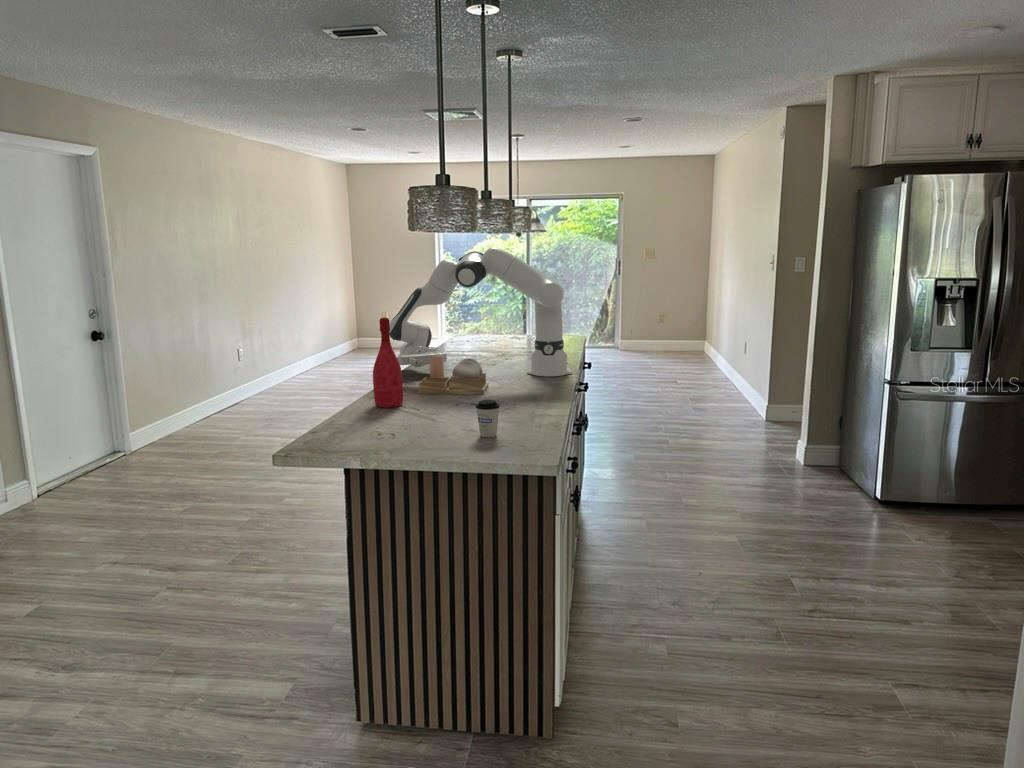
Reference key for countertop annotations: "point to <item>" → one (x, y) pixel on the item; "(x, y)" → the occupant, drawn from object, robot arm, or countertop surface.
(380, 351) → the wine bottle
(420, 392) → the rack
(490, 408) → the coffee cup
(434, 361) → the peach rounded cylinder
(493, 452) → the countertop surface
